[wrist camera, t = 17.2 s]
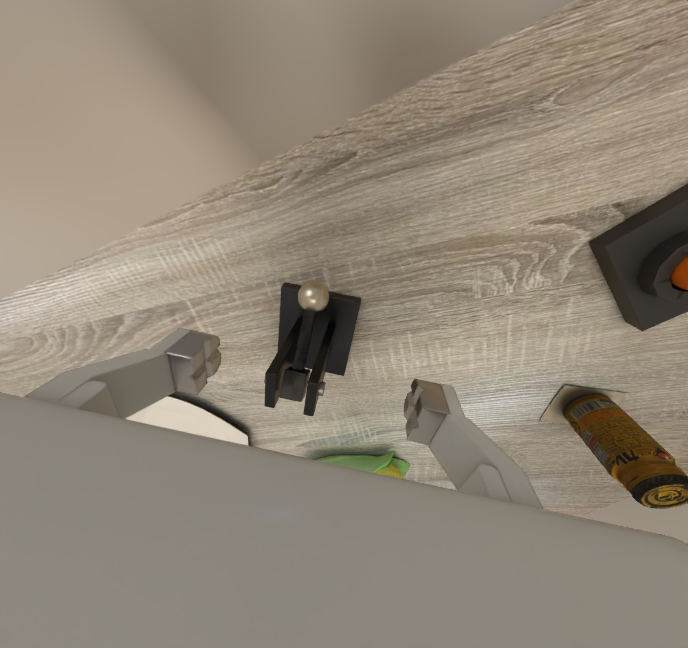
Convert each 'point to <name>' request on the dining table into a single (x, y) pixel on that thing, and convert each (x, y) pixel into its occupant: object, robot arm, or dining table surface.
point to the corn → (371, 463)
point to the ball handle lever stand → (312, 343)
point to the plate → (189, 420)
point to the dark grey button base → (647, 261)
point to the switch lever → (304, 340)
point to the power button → (681, 274)
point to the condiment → (621, 445)
